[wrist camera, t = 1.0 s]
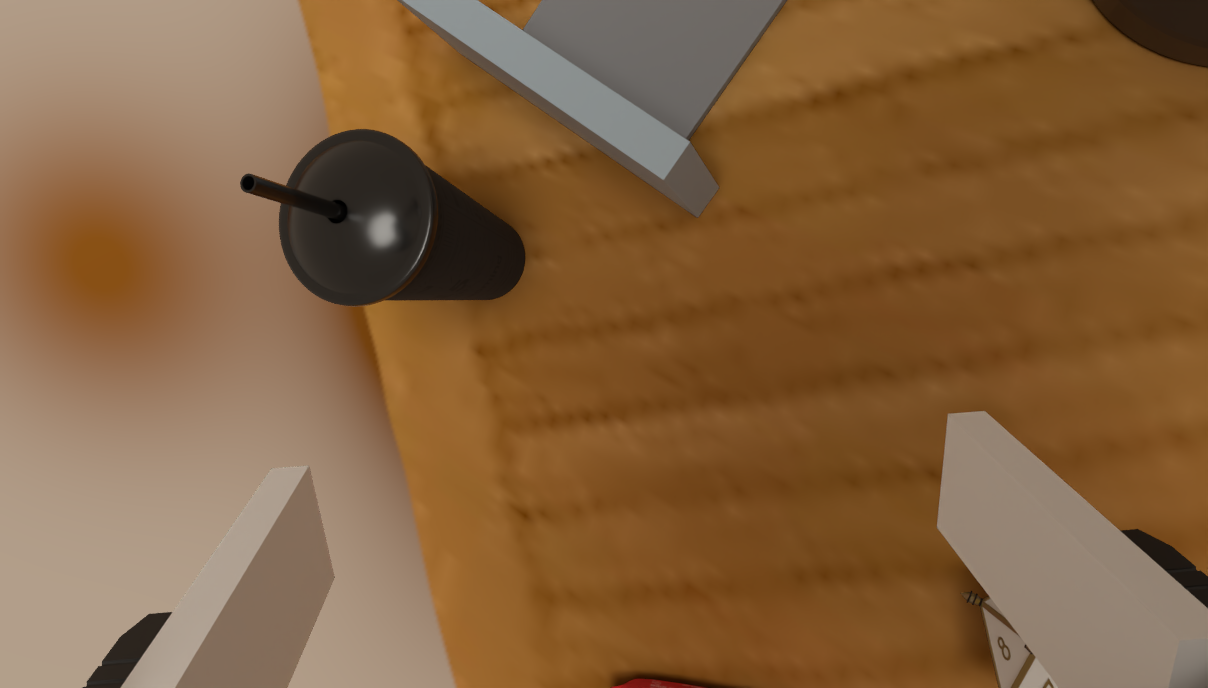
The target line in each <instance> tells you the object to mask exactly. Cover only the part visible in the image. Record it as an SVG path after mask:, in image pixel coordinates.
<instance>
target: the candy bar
mask: <svg viewBox="0 0 1208 688" xmlns="http://www.w3.org/2000/svg"><path fill="white" fill-rule="evenodd" d="M611 688H706V687H700V686H693V685H687V684H681V683H674V682H667V681H661V680H654V679H634V680H631V681H628V682H627V683H625V684H623V685H620V686H615V687H611Z"/></svg>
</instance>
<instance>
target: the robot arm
mask: <svg viewBox="0 0 1208 688" xmlns="http://www.w3.org/2000/svg"><path fill="white" fill-rule="evenodd" d="M1093 1H1094V3H1095V4H1096V6H1097V7H1098V8H1099V10H1100V11H1101V12H1102V13H1103V14H1104V15H1105V16H1106V18H1107V19H1108V20H1110V21H1111V22H1112V23H1113V24H1114V25H1115V26H1116V27H1117V28H1118V29H1119V30H1121V31H1122V32H1123V33H1124V34H1126V35H1127V36H1129V37H1130V38H1132V39H1133V40H1134V41H1136V42H1138V43H1140V44H1141V45H1143V46H1145V47H1147V48H1149V49H1151V50H1153V51H1155V52H1157V53H1159V54H1162V55H1164V56H1167V57H1170V58H1173V59H1176V60H1179V61H1182V62H1187V63H1191V64H1195V65H1201V66H1206V67H1208V0H1093ZM937 528H938V530H939V531H940V532H941V533H942V535H943V536H944V537H945V539H946V540H947V541H948V543H949V544H950V545H951V547H952V548H953V549H954V551H955V552H956V553H957V555H958V556H959V557H960V558H961V560H962V561H963V562H964V564H965V565H966V566H967V568H968V569H969V570H970V572H971V573H972V574H973V576H974V577H975V578H976V579H977V581H978V582H979V583H980V585H981V586H982V587H983V589H984V590H985V591H986V593H987V594H988V595H989V597H990V598H991V599H992V600H993V602H994V603H995V604H996V606H997V607H998V608H999V610H1000V611H1001V612H1002V614H1003V615H1004V616H1005V618H1006V619H1007V620H1008V621H1009V623H1010V624H1011V625H1012V627H1013V628H1014V629H1015V631H1016V632H1017V633H1018V635H1019V636H1020V637H1021V639H1022V640H1023V641H1024V643H1025V644H1026V645H1027V646H1028V648H1029V649H1030V650H1031V652H1032V653H1033V654H1034V656H1035V657H1036V658H1037V660H1038V661H1039V662H1040V664H1041V665H1042V666H1043V667H1044V669H1045V670H1046V671H1047V673H1048V674H1049V675H1050V677H1051V678H1052V679H1053V681H1054V682H1055V683H1056V685H1057V686H1058V687H1059V688H1208V576H1206V575H1205V574H1204V573H1203V572H1202V571H1197V570H1196V566H1194V565H1193V564H1192V563H1191V562H1190V561H1188V560H1187V559H1186V558H1185V557H1184V556H1182V555H1181V554H1180V553H1179V552H1178V551H1176V550H1175V549H1174V548H1173V547H1172V546H1170V545H1168V544H1166V543H1164V542H1162V541H1160V540H1158V539H1156V538H1154V537H1152V536H1150V535H1148V534H1146V533H1144V532H1142V531H1140V530H1138V529H1135V530H1123V531H1120V530H1119V529H1117V528H1116V527H1115V526H1114V525H1113V524H1112V523H1111V522H1110V521H1108V520H1107V519H1106V518H1105V517H1104V516H1103V515H1102V514H1101V513H1099V512H1098V511H1097V510H1096V509H1095V508H1094V507H1093V506H1091V505H1090V504H1089V503H1088V502H1087V501H1086V500H1085V499H1084V498H1082V497H1081V496H1080V495H1079V494H1078V493H1077V492H1076V491H1075V490H1073V489H1072V488H1071V487H1070V486H1069V485H1068V484H1067V483H1066V482H1064V481H1063V480H1062V479H1061V478H1060V477H1059V476H1058V475H1056V474H1055V473H1054V472H1053V471H1052V470H1051V469H1050V468H1049V467H1047V466H1046V465H1045V464H1044V463H1043V462H1042V461H1041V460H1040V459H1038V458H1037V457H1036V456H1035V455H1034V454H1033V453H1032V452H1031V451H1029V450H1028V449H1027V448H1026V447H1025V446H1024V445H1023V444H1021V443H1020V442H1019V441H1018V440H1017V439H1016V438H1015V437H1014V436H1012V435H1011V434H1010V433H1009V432H1008V431H1007V430H1006V429H1005V428H1003V427H1002V426H1001V425H1000V424H999V423H998V422H997V421H995V420H994V419H993V418H992V417H991V416H990V415H989V414H988V413H986V412H985V411H978V412H966V413H953V414H948V419H947V429H946V439H945V450H944V460H943V470H942V480H941V490H940V501H939V511H938V521H937ZM334 578H335V577H334V573H333V568H332V564H331V559H330V555H329V550H328V546H327V542H326V537H325V533H324V528H323V524H322V520H321V515H320V511H319V507H318V502H317V498H316V494H315V489H314V485H313V480H312V476H311V471H310V467H309V466H297V467H285V468H272V469H271V470H270V471H269V473H268V474H267V476H266V477H265V478H264V480H263V481H262V483H261V484H260V486H259V487H258V489H257V490H256V492H255V493H254V494H253V496H252V497H251V499H250V500H249V502H248V503H247V505H246V506H245V508H244V509H243V511H242V512H241V513H240V515H239V516H238V518H237V519H236V521H235V522H234V524H233V525H232V526H231V528H230V529H229V531H228V532H227V534H226V535H225V537H224V538H223V540H222V541H221V542H220V544H219V545H218V547H217V548H216V550H215V551H214V553H213V554H212V556H211V557H210V559H209V560H208V561H207V563H206V564H205V566H204V567H203V569H202V570H201V571H200V573H199V574H198V576H197V578H196V579H195V580H194V582H193V583H192V585H191V586H190V588H189V589H188V591H187V592H186V593H185V595H184V596H183V598H182V599H181V601H180V602H179V604H178V605H177V606H176V608H175V609H174V611H173V612H168V613H156V614H148V615H147V616H146V617H145V618H143V619H142V620H141V621H140V622H139V623H137V624H136V625H135V626H134V627H132V628H131V629H130V630H128V631H127V632H126V633H125V634H123V635H122V636H121V637H120V638H119V639H118V641H117V642H116V644H115V645H114V646H113V647H112V649H111V650H110V651H109V653H108V654H107V656H106V657H105V658H104V659H103V661H102V666H98V668H97V669H96V670H95V672H94V673H93V674H92V676H91V677H90V678H89V680H88V681H87V686H86V687H83V688H287V687H288V685H289V682H290V680H291V678H292V675H293V673H294V671H295V668H296V666H297V664H298V661H299V659H300V657H301V655H302V652H303V650H304V648H305V645H306V643H307V641H308V638H309V636H310V634H311V631H312V629H313V627H314V624H315V622H316V620H317V617H318V615H319V613H320V610H321V608H322V606H323V604H324V601H325V599H326V597H327V594H328V592H329V590H330V587H331V585H332V582H333V580H334Z"/></svg>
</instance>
